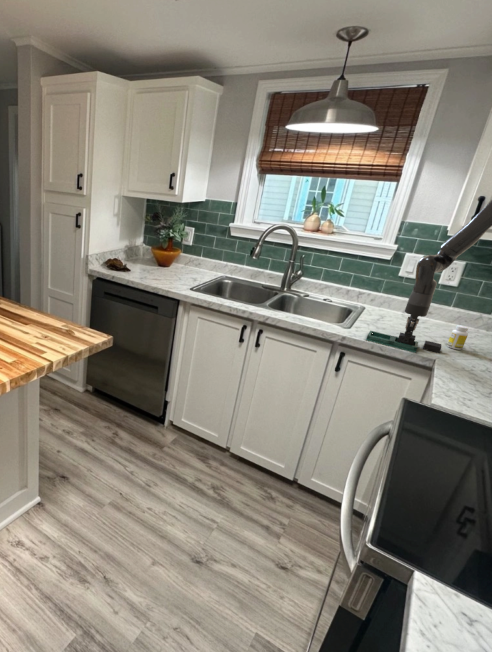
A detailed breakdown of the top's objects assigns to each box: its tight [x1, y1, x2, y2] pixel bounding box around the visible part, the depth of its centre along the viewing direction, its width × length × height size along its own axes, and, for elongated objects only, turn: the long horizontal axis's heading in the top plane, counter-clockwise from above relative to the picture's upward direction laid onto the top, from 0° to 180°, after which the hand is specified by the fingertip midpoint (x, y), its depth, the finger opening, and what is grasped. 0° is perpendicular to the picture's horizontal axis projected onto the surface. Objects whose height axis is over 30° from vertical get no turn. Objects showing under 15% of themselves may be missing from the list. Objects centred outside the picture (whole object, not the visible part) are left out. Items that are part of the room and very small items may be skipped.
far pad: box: [422, 340, 442, 354], centre depth 173 cm, size 6×6×3 cm
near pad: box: [397, 332, 417, 346], centre depth 174 cm, size 6×6×3 cm
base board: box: [365, 330, 419, 354], centre depth 177 cm, size 18×12×2 cm, turn 51°
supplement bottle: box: [446, 324, 469, 351], centre depth 177 cm, size 5×5×10 cm
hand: (405, 340), depth 174 cm, fingers closed on near pad, 5 cm apart
